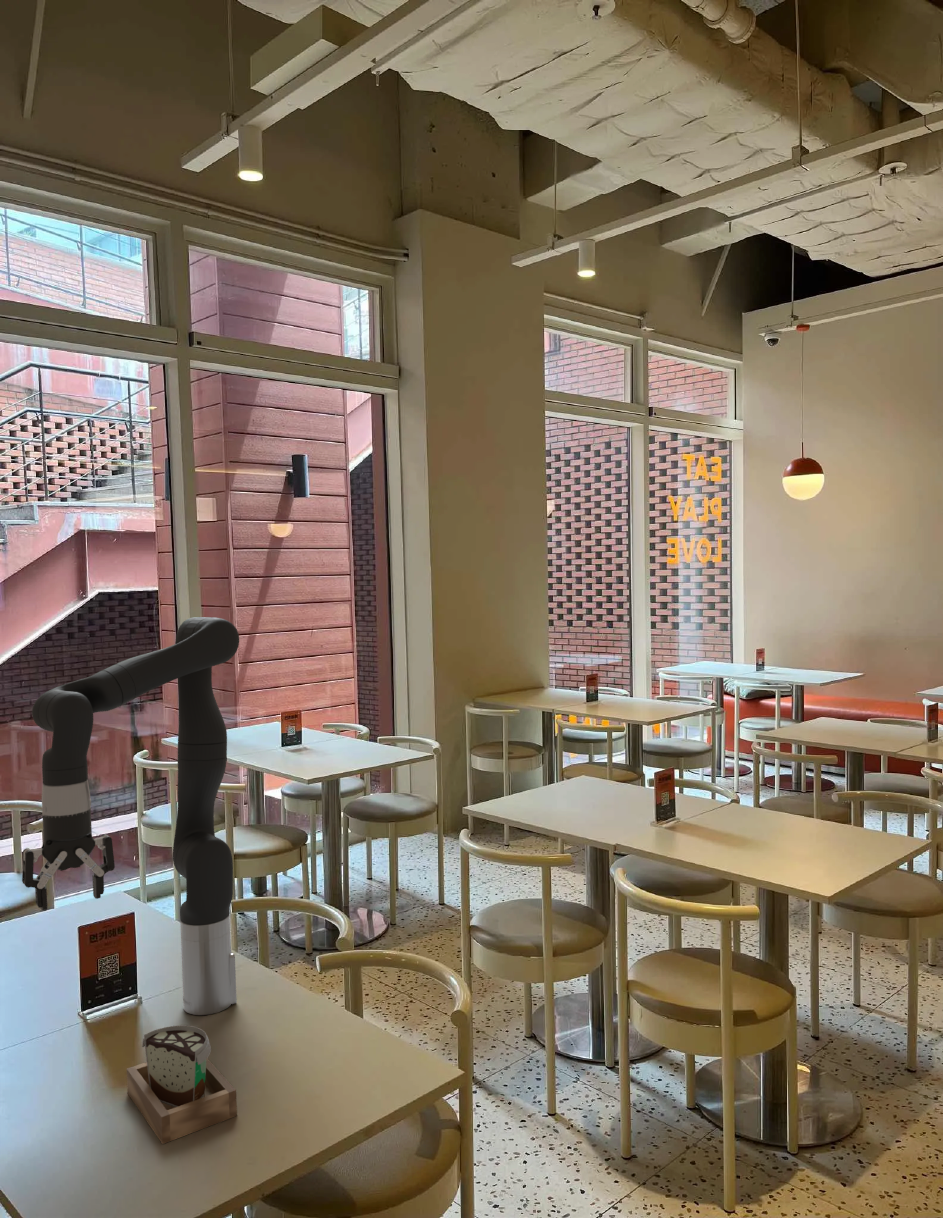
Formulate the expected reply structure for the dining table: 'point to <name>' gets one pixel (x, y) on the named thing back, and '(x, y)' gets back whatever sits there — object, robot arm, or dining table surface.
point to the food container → (177, 1063)
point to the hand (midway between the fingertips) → (70, 903)
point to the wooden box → (185, 1117)
